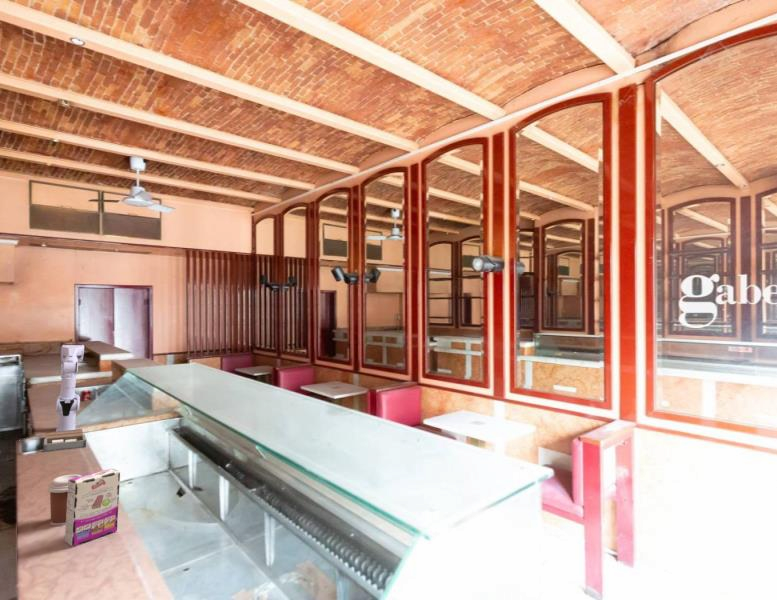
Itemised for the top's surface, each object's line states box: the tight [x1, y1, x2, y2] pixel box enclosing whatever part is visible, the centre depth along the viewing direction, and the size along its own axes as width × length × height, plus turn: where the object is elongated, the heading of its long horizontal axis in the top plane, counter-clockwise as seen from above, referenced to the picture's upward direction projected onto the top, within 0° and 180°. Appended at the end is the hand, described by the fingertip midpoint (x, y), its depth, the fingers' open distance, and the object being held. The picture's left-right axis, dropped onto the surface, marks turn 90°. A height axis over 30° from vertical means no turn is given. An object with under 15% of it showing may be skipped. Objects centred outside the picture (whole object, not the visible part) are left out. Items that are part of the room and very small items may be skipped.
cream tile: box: [52, 439, 63, 443], centre depth 197 cm, size 4×4×2 cm
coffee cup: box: [46, 473, 82, 527], centre depth 128 cm, size 9×9×12 cm
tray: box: [43, 433, 87, 453], centre depth 198 cm, size 12×15×3 cm
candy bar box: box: [64, 468, 121, 548], centre depth 119 cm, size 11×5×16 cm, turn 148°
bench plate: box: [45, 428, 84, 444], centre depth 209 cm, size 14×14×2 cm
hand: (65, 415), depth 212 cm, fingers closed
